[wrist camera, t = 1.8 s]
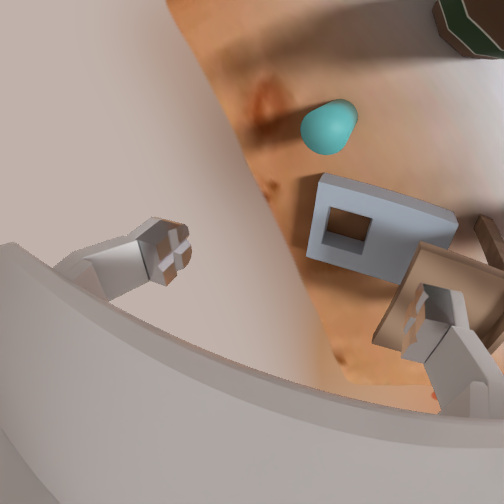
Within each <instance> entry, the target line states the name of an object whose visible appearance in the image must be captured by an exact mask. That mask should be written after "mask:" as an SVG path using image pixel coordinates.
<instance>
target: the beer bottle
mask: <svg viewBox="0 0 504 504" xmlns="http://www.w3.org/2000/svg"><path fill="white" fill-rule="evenodd" d="M432 12H433V15H434V18H435V22H436V25H437V28H438V32H439V36H441V37H442V38H443V39H444V40H445V41H446V42H448V43H449V44H450V45H451V46H452V47H453V48H454V49H455V50H456V51H457V52H458V53H460V54H461V55H462V56H467V57H475V58H482V59H492V60H493V59H504V0H438V1H437V2H436V3H435V5H434V6H433V9H432Z"/></svg>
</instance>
